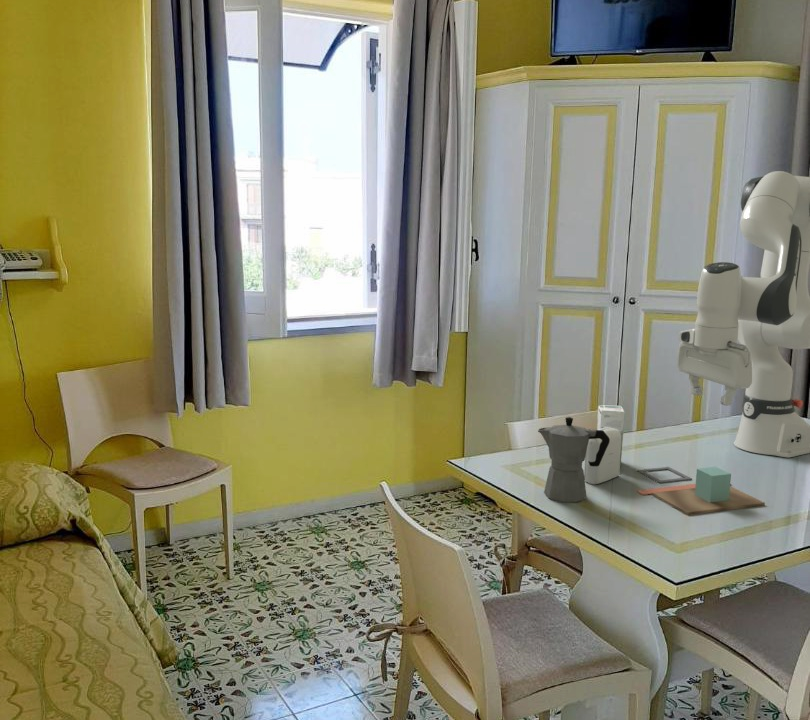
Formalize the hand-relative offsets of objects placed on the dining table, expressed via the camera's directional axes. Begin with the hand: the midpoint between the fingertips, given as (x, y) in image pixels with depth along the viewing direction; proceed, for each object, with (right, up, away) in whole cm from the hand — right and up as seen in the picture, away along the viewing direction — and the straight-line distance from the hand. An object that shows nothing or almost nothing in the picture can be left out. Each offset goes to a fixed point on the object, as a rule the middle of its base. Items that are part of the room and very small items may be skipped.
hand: (711, 399), depth 177 cm
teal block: (0, -22, 0) cm, 21 cm away
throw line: (-4, -21, +7) cm, 22 cm away
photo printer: (-21, -20, +12) cm, 31 cm away
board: (-1, -22, -1) cm, 22 cm away
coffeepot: (-31, -22, +1) cm, 38 cm away
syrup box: (-17, -17, +24) cm, 34 cm away
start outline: (-5, -19, +15) cm, 25 cm away
